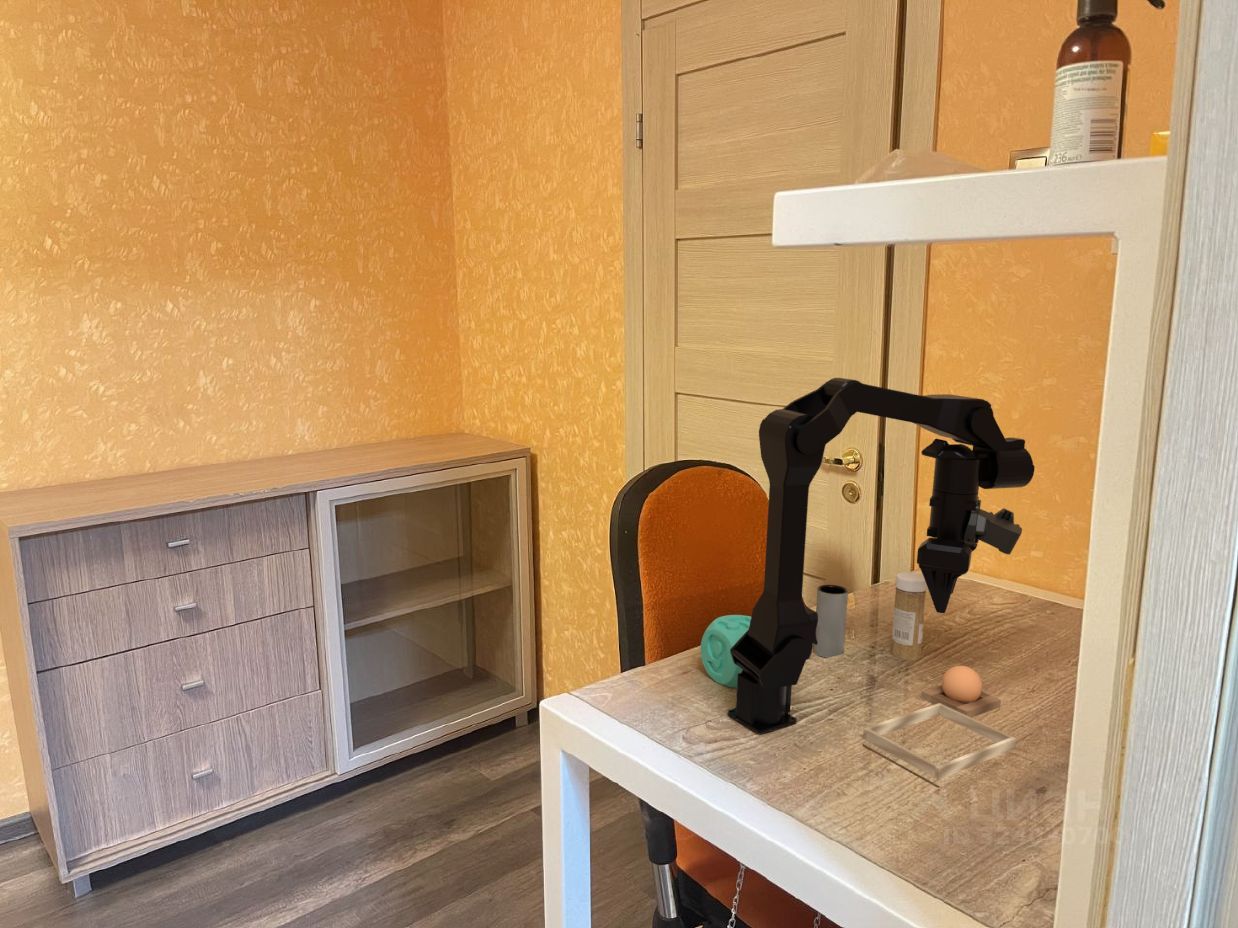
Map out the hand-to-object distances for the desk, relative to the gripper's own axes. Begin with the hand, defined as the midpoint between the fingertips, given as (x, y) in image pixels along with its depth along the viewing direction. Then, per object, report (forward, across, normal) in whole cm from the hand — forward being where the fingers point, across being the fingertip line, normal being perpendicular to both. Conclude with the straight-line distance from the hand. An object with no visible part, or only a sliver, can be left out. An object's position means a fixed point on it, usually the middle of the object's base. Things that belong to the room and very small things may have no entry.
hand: (944, 602), depth 121 cm
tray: (+13, -17, -2) cm, 22 cm away
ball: (+12, -4, -3) cm, 13 cm away
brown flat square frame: (+13, -4, -3) cm, 14 cm away
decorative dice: (+14, -8, +26) cm, 31 cm away
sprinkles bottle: (+13, +10, +6) cm, 18 cm away
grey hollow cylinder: (+13, +8, +17) cm, 23 cm away
